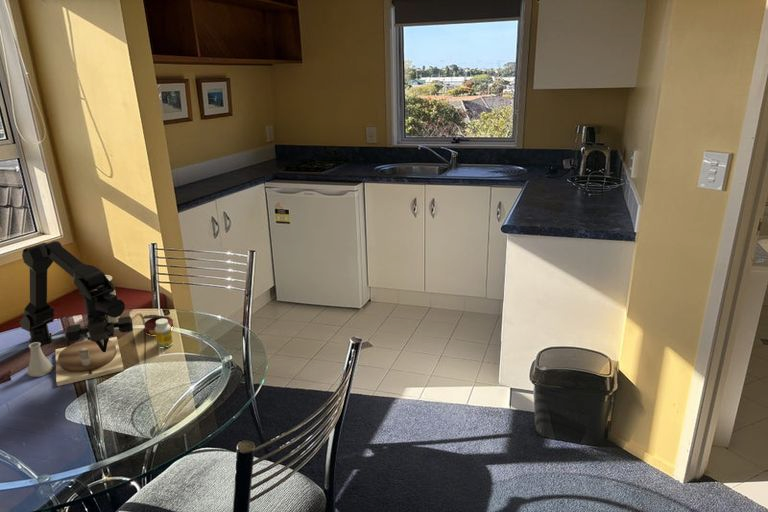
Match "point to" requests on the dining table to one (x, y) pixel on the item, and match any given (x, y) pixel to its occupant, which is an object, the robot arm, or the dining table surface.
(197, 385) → the dining table surface
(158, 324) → the supplement bottle
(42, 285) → the robot arm
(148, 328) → the dark red handled pot
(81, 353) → the knobbed disc on base
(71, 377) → the stand
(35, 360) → the flask
